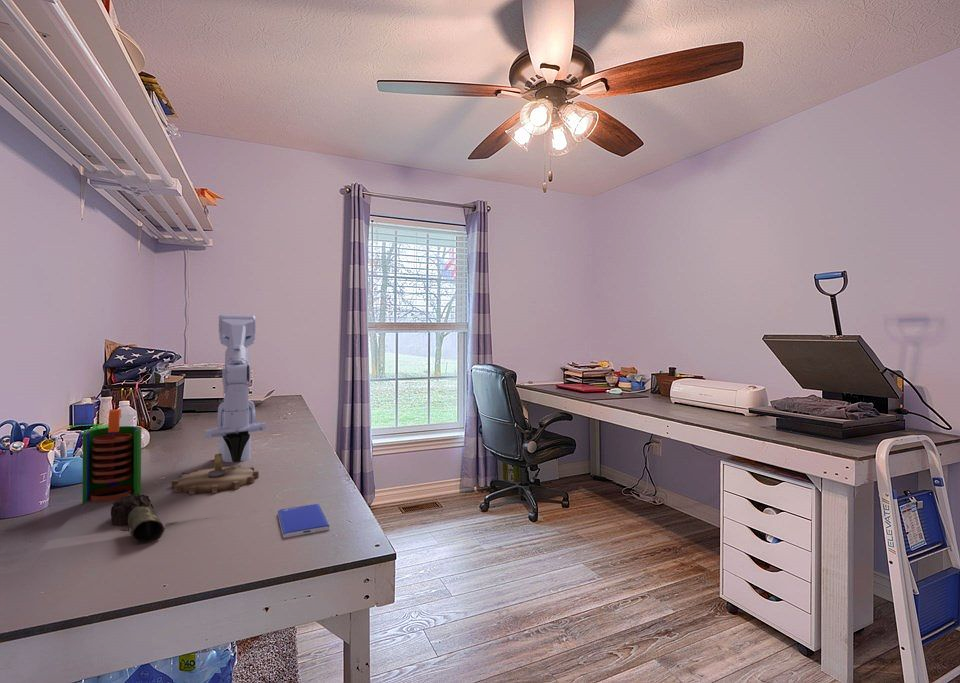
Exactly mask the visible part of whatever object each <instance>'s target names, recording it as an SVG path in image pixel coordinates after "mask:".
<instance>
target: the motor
mask: <svg viewBox="0 0 960 683" xmlns="http://www.w3.org/2000/svg"><path fill="white" fill-rule="evenodd" d="M121 418H122V409H121V408H117V409H109V412H108V426H107V427H100V428H96V429H90V430H86V431H84V432H82V488H81V489H82V493H81V494H82V502H81V503H82V504H81V505H82V506H84V505H85V504H86V503H87V501H90V502H94V503H106V502H113V501H117V499H120V498H121V497H123V496H125V495H127V494H129V493H130V494H132V495H135V496H136V494H137V493H138V492H139V494H140V495H141V493H142V427H141V426H133V425H132V426H131V425H128V426H127V425H123V426H122V425H121V426H120V419H121ZM117 491H118V492H119V491H121V492H122V493H118V494H112V495H103V494H106V493H111V492H117ZM123 491H124V492H123ZM101 495H102V496H101Z"/></svg>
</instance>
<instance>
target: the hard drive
mask: <svg viewBox="0 0 960 683" xmlns="http://www.w3.org/2000/svg"><path fill="white" fill-rule="evenodd" d="M277 516H278V518H277V519H278V522H279V525H280V526H279V527H280V530H281V535H282V539H285V538H291V537H298V536H301V535H308V534H311V533H313V534H314V533H319V532H324V531H328V530H329V531H330V524H329V522H328V520H327V518H326V516H325V514H324V512H323V510H322V508H321V506H320V504H319V503H313V504H307V505H300V506H295V507H287V508H281V509H278V510H277Z"/></svg>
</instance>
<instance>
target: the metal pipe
mask: <svg viewBox="0 0 960 683" xmlns="http://www.w3.org/2000/svg"><path fill="white" fill-rule="evenodd" d="M149 497H150V496H149V495H145V494H144V493H143V494H141V493H140V494H139V492H138V493H137V494H136V495H134V494H133V495H132V494H130V493H129V494H127V495H125V496H123V497H121V498H120V499H117V500H115V502H113V503H112V506H111V508H110V516H111V519H110V520H111V522H110V524H111V525H112V526H116V527H127V526H129V529H130V536H131V539H132V541H134V542H135V543H137V544H141V545H142V544H148V542H149V543H152V541H153V542H156V541H158V540H159V539H160V538H161V537H162V536H163V534H164V532H165V526H164V524H163V522H162V520H161V519H160V518H159V516H158V515H157V513H156V512H155V511H154V505H153V504H152V503H151V500H150V498H149ZM122 530H123V528H121V529H119V531H122ZM155 540H156V541H155Z"/></svg>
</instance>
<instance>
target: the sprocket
mask: <svg viewBox="0 0 960 683" xmlns="http://www.w3.org/2000/svg"><path fill="white" fill-rule="evenodd" d="M259 474H260V472H259V470H255V467H253V466H250V467H244V466H241V465H240V464H239V465H238V464H236V465H235V466H223V461H222V454H219V453H215V454H214V467H213V468H212V467H211V468H206V469H196V470H195V471H193V472H189V474H182V473H181V474H179V478H178V479H172V480H171V488H173V489H174V491H173V492H175V493H181V492H183V493H188V495H192V496H193V495H195V494H201V493H202V494H203V493H206V494H207V493H211V494H212V495H213V494H217V493H218V492H221V491H227V490H230V489H232V490H233V489H234V490H239V489H240V488H241V487H242V486H244V485H247V484H254V483H255V479H259V478H260V476H259Z"/></svg>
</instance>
